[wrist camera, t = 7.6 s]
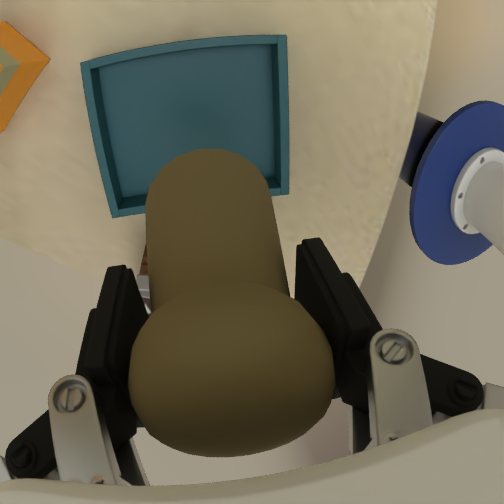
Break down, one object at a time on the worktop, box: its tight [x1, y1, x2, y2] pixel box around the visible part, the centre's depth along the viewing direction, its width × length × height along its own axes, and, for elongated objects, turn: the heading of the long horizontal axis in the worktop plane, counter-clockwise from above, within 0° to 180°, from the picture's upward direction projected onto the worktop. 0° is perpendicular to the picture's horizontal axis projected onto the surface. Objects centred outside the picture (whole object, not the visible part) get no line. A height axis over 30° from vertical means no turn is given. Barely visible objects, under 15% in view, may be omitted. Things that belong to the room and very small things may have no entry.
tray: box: [80, 35, 289, 218], centre depth 26 cm, size 17×15×3 cm
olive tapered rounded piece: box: [128, 149, 336, 457], centre depth 11 cm, size 6×6×11 cm
